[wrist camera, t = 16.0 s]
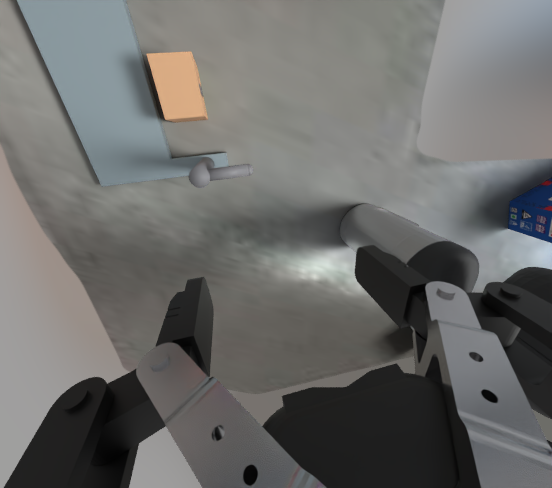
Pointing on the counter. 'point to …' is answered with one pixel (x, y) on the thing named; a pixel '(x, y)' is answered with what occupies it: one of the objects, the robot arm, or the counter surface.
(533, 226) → the blue cardboard box
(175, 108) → the tan wooden brick
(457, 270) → the robot arm
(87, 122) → the screw clamp
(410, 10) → the counter surface
